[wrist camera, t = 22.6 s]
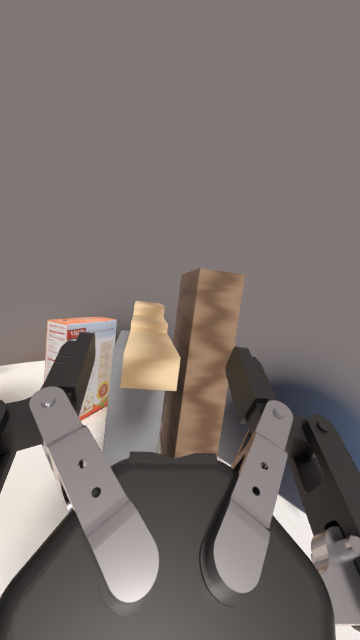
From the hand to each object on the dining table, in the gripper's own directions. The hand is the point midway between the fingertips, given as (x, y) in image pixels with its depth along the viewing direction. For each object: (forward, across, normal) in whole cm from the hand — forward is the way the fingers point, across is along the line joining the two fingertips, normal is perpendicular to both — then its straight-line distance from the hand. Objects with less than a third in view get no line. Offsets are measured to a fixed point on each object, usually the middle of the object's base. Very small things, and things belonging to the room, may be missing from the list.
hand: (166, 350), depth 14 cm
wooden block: (+7, +8, -33) cm, 35 cm away
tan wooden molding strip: (+11, 0, -11) cm, 15 cm away
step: (+5, -1, -32) cm, 32 cm away
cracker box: (+21, -12, -42) cm, 48 cm away
